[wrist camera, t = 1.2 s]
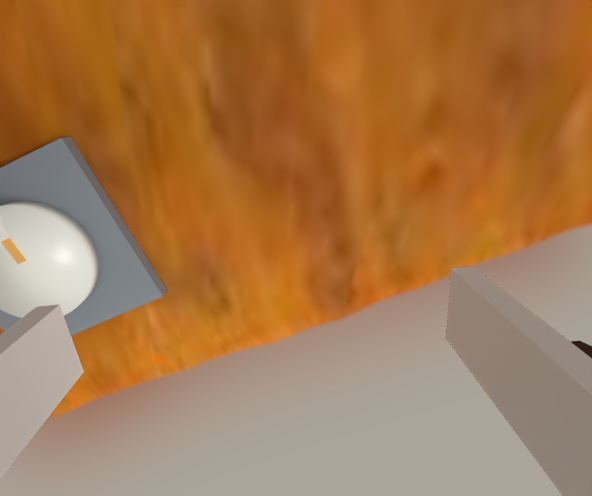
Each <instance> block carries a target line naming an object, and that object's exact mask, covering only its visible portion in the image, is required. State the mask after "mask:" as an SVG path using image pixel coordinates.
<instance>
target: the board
mask: <svg viewBox="0 0 592 496" xmlns="http://www.w3.org/2000/svg"><path fill="white" fill-rule="evenodd" d="M19 201H32V202H39V203H43V204H47V205H50V206H52V207H55V208H57V209H59V210H61V211H63V212H65V213H66V214H68V215H69V216H71V217H72V218H73V219H74V220H76V221H77V222H78V223H79V224H80V225H81V226H82V227H83V228H84V229H85V230H86V232H87V233H88V234H89V236H90V237H91V239H92V241H93V242H94V244H95V247H96V249H97V252H98V255H99V260H100V275H99V279H98V282H97V285H96V287H95V289H94V290H93V292H92V293H91V294H90V295H89V296H88V297H87V298H86V299H85V300H84V301H83V302H82V303H81V304H80V305H79V306H78V307H77V308H75V309H74V310H73V311H71V312H70V313H68V314H66V315H64V318H65V321H66V324H67V327H68V329H69V332H70V335H74V334H76V333H78V332H81V331H83V330H85V329H88V328H90V327H93V326H95V325H97V324H100V323H102V322H104V321H107V320H109V319H111V318H114V317H116V316H118V315H121V314H123V313H125V312H128V311H130V310H132V309H135V308H137V307H139V306H142V305H144V304H147V303H149V302H151V301H154V300H156V299H158V298H161V297H163V296H164V294H165V293H166V291H167V289H166V288H165V286H164V285H163V283H162V281H161V280H160V278H159V277H158V275H157V273H156V272H155V270H154V269H153V267H152V265H151V264H150V262H149V261H148V259H147V258H146V256H145V254H144V253H143V251H142V250H141V248H140V246H139V245H138V243H137V242H136V240H135V239H134V237H133V235H132V234H131V232H130V231H129V229H128V227H127V226H126V224H125V223H124V221H123V219H122V218H121V216H120V215H119V213H118V212H117V210H116V208H115V207H114V205H113V204H112V202H111V200H110V199H109V197H108V196H107V194H106V193H105V191H104V189H103V188H102V186H101V185H100V183H99V181H98V180H97V178H96V177H95V175H94V173H93V172H92V170H91V169H90V167H89V166H88V164H87V162H86V161H85V159H84V158H83V156H82V154H81V153H80V151H79V150H78V148H77V147H76V145H75V143H74V142H73V140H72V139H71V137H64V138H60V139H58V140H56V141H54V142H52V143H50V144H48V145H46V146H44V147H42V148H40V149H37V150H35V151H33V152H31V153H29V154H27V155H25V156H23V157H21V158H19V159H17V160H15V161H13V162H11V163H9V164H7V165H5V166H3V167H1V168H0V206H1V205H4V204H8V203H12V202H19ZM20 319H21V318H20V317H17V316H14V315H11V314H8V313H6V312H4V311H2V310H0V328H1V329H2V330H3V331H6V330H7V329H8V328H9V327H11V326H12V325H13V324H15V323H16V322H17V321H19V320H20Z"/></svg>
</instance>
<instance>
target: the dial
mask: <svg viewBox="0 0 592 496" xmlns="http://www.w3.org/2000/svg"><path fill="white" fill-rule="evenodd" d="M99 275H100V260H99V255H98V252H97V249H96V247H95V244H94V242H93V241H92V239H91V237H90V236H89V234H88V233H87V232H86V230H85V229H84V228H83V227H82V226H81V225H80V224H79V223H78V222H77V221H76V220H74V219H73V218H72V217H71V216H69V215H68V214H66V213H65V212H63V211H61V210H59V209H57V208H55V207H52V206H50V205H47V204H43V203H39V202H32V201H19V202H12V203H8V204H4V205H1V206H0V310H2V311H4V312H6V313H8V314H11V315H14V316H17V317H20V318H22V317H24V316H25V315H26V314H28V313H29V312H30V311H32V310H33V309H34V308H35V307H38V306H49V305H60V307H61V310H62V313H63V315H66V314H68V313H70V312H71V311H73V310H74V309H75V308H77V307H78V306H79V305H80V304H81V303H82V302H83V301H84V300H85V299H86V298H87V297H88V296H89V295H90V294H91V293H92V292H93V290H94V289H95V287H96V285H97V282H98V279H99Z"/></svg>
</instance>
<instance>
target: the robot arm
mask: <svg viewBox="0 0 592 496" xmlns="http://www.w3.org/2000/svg"><path fill="white" fill-rule="evenodd" d="M449 290H450V291H449V303H448V316H447V329H446V339H447V341H448V342H449V343H450V345H451V346H452V347H453V349H454V350H455V351H456V353H457V354H458V355H459V357H460V358H461V359H462V361H463V362H464V363H465V365H466V366H467V367H468V369H469V370H470V372H471V373H472V374H473V376H474V377H475V378H476V379H477V381H478V382H479V383H480V385H481V386H482V388H483V389H484V390H485V392H486V393H487V394H488V396H489V397H490V398H491V400H492V401H493V403H494V404H495V405H496V407H497V408H498V409H499V411H500V412H501V413H502V414H503V416H504V417H505V419H506V420H507V421H508V423H509V424H510V425H511V427H512V428H513V430H514V431H515V432H516V434H517V435H518V436H519V438H520V439H521V440H522V442H523V443H524V444H525V446H526V447H527V448H528V450H529V451H530V452H531V454H532V455H533V456H534V458H535V459H536V460H537V462H538V463H539V465H540V466H541V467H542V469H543V470H544V471H545V473H546V474H547V475H548V477H549V478H550V479H551V481H552V482H553V483H554V485H555V486H556V487H557V489H558V490H559V492H560V493H561V494H562V495H563V496H592V346H590V345H588V344H586V343H583V342H581V341H573V342H570V341H569V340H567V339H566V338H565V337H564V336H562V335H561V334H560V333H558V332H557V331H556V330H554V329H553V328H552V327H551V326H549V325H548V324H547V323H545V322H544V321H543V320H542V319H540V318H539V317H538V316H537V315H535V314H534V313H533V312H531V311H530V310H529V309H527V308H526V307H525V306H524V305H522V304H521V303H520V302H518V301H517V300H516V299H515V298H513V297H512V296H511V295H510V294H508V293H507V292H506V291H504V290H503V289H502V288H501V287H499V286H498V285H497V284H495V283H494V282H493V281H492V280H490V279H489V278H488V277H486V276H485V275H484V274H483V273H481V272H480V271H479V270H477V269H476V268H475V267H464V268H453V269H451V276H450V289H449ZM83 372H84V371H83V369H82V366H81V363H80V360H79V357H78V355H77V352H76V349H75V346H74V343H73V341H72V338H71V335H70V332H69V329H68V327H67V324H66V321H65V318H64V315H63V313H62V310H61V307H60V305H49V306H38V307H35V308H34V309H33V310H32V311H30V312H29V313H28V314H26V315H25V316H24V317H22V318H21V319H20V320H19V321H17V322H16V323H15V324H13V325H12V326H11V327H9V328H8V329H7V330H6V331H4V332H3V333H2V334H0V478H1V477H2V476H3V475H4V473H5V472H6V471H7V469H8V468H9V466H11V464H12V463H13V462H14V461H15V459H16V458H17V457H18V455H19V454H20V453H21V452H22V450H23V449H24V448H25V446H26V445H27V444H28V443H29V441H30V440H31V439H32V437H33V436H34V435H35V434H36V432H37V431H38V430H39V428H40V427H41V426H42V424H43V423H44V422H45V421H46V419H47V418H48V417H49V416H50V414H51V413H52V412H53V410H54V409H55V408H56V407H57V405H58V404H59V403H60V402H61V400H62V399H63V398H64V396H65V395H66V394H67V393H68V391H69V390H70V389H71V387H72V386H73V385H74V384H75V382H76V381H77V380H78V378H79V377H80V376H81V375H82V373H83Z"/></svg>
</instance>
